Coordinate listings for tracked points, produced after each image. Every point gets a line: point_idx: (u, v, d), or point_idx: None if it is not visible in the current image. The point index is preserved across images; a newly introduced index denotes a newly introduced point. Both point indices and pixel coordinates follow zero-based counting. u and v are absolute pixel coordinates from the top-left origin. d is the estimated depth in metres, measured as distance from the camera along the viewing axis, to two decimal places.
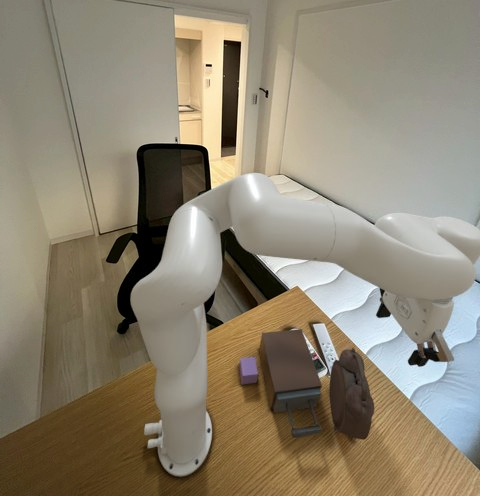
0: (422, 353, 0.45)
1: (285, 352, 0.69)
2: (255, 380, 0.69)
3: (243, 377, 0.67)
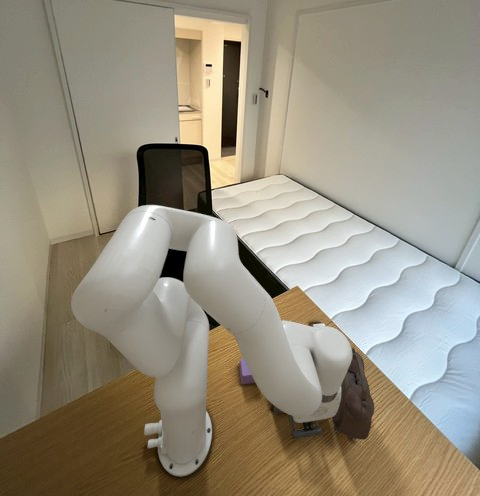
0: None
1: None
2: None
3: (243, 377, 0.67)
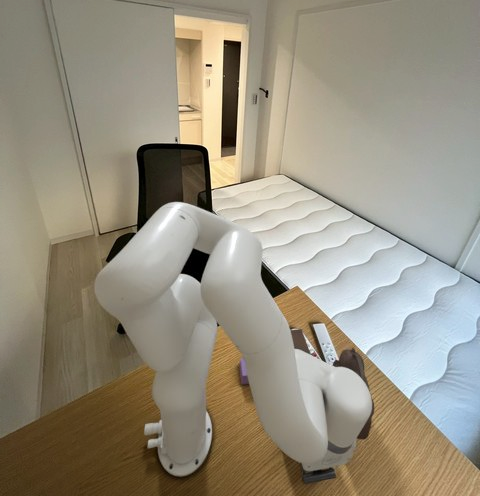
0: None
1: None
2: None
3: (243, 377, 0.67)
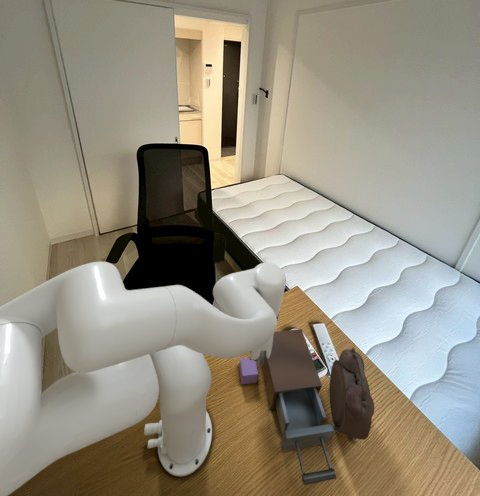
0: None
1: (285, 352, 0.69)
2: (255, 380, 0.69)
3: (243, 377, 0.67)
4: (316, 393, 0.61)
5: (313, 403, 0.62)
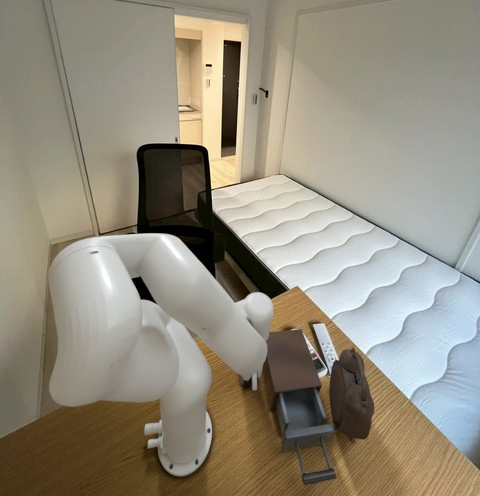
0: None
1: (285, 352, 0.69)
2: None
3: None
4: (316, 393, 0.61)
5: (313, 403, 0.62)
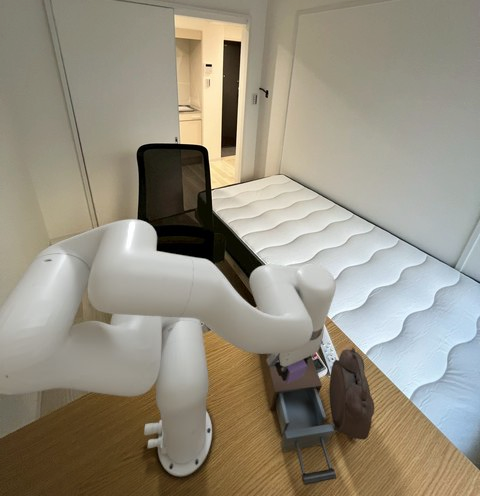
0: None
1: None
2: (287, 380, 0.55)
3: None
4: (316, 393, 0.61)
5: (313, 403, 0.62)
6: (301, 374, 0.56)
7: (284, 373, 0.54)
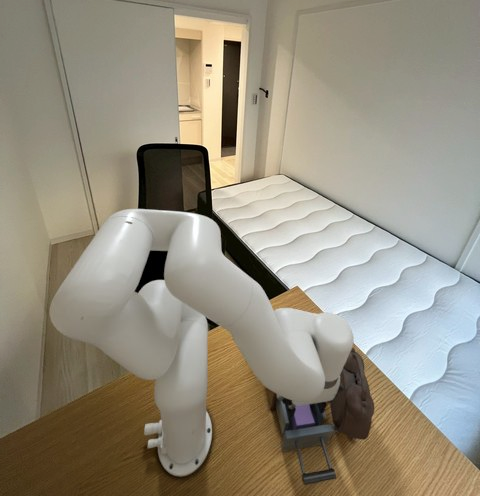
0: None
1: None
2: None
3: None
4: None
5: None
6: None
7: (291, 411, 0.55)
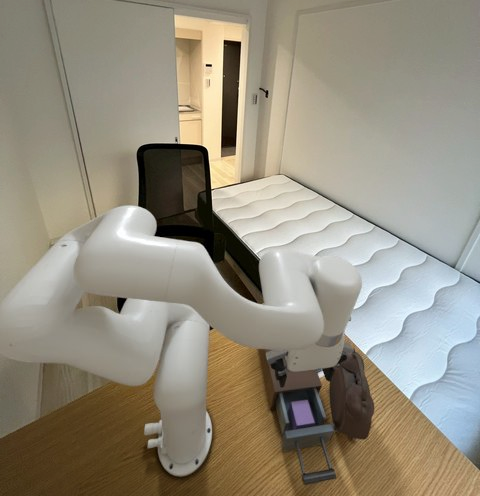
0: None
1: None
2: None
3: (290, 405, 0.60)
4: (316, 393, 0.61)
5: (313, 403, 0.62)
6: None
7: (282, 378, 0.46)
